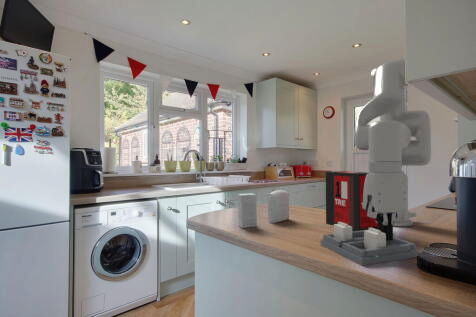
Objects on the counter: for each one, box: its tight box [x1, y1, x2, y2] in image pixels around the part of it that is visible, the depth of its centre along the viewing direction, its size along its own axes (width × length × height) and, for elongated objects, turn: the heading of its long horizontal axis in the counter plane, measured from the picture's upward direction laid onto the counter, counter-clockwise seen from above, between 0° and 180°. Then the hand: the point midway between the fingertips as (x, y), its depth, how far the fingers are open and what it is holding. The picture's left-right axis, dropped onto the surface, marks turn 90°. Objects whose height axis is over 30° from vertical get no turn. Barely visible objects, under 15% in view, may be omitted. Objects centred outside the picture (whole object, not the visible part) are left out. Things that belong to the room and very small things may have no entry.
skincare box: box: [237, 192, 258, 229], centre depth 98 cm, size 6×4×12 cm
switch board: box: [320, 230, 420, 266], centre depth 72 cm, size 18×16×3 cm
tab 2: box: [364, 228, 386, 249], centre depth 68 cm, size 3×4×5 cm
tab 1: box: [333, 222, 352, 241], centre depth 74 cm, size 3×4×5 cm
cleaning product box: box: [325, 170, 378, 231], centre depth 96 cm, size 16×9×20 cm, turn 20°
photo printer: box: [267, 189, 290, 224], centre depth 107 cm, size 10×4×12 cm, turn 133°
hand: (385, 238), depth 69 cm, fingers closed
